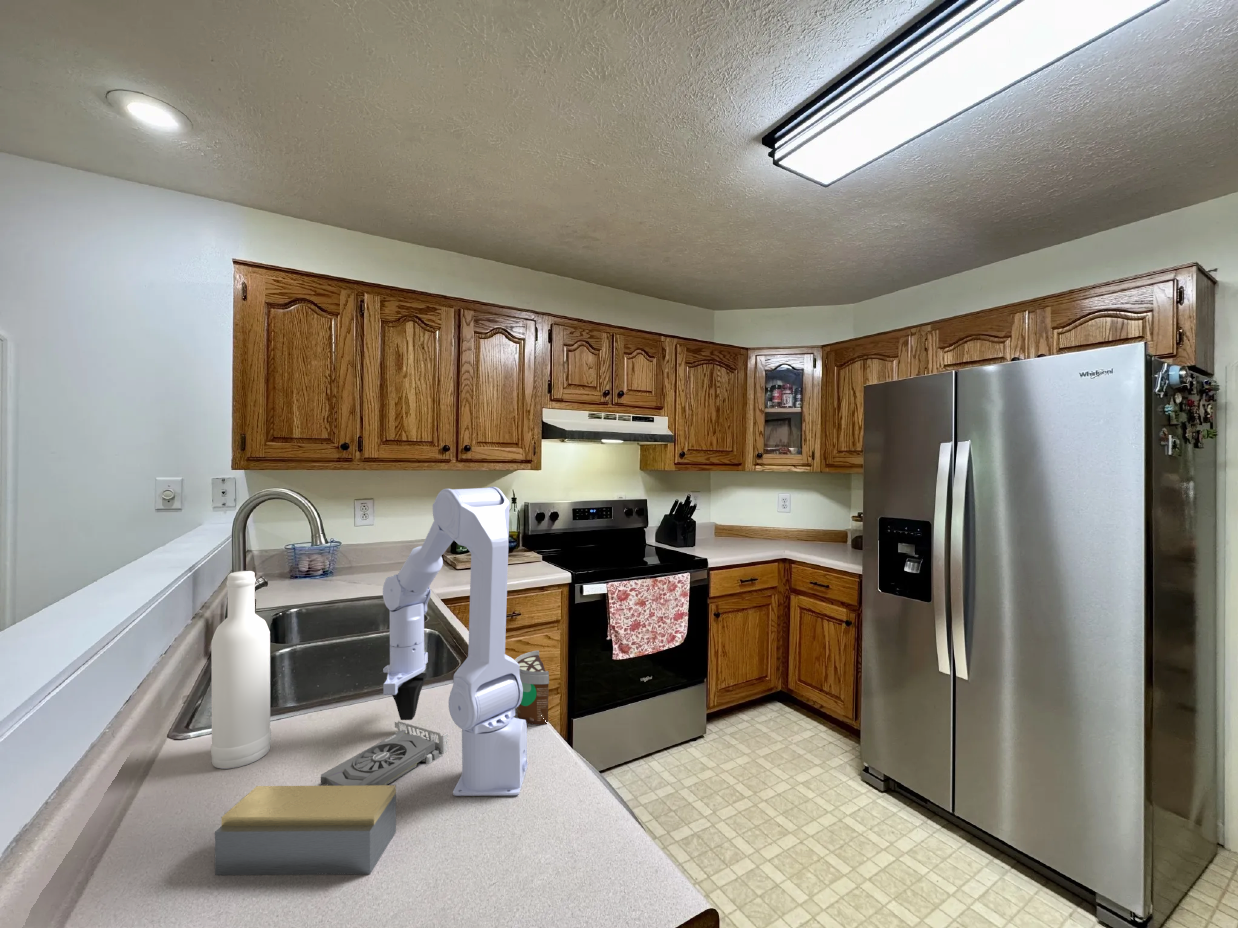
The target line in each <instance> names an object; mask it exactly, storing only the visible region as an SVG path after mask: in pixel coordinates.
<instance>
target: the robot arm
mask: <svg viewBox="0 0 1238 928" xmlns="http://www.w3.org/2000/svg"><path fill="white" fill-rule="evenodd" d="M510 506H511V504H510V501H509V499H508V498H507V496H506V495H505V494H504V493H503V491H502V490H501V489H500V488H499V487H497V486H488V487H478V488H477V487H475V488H473V487H472V488H455V489H454V488H453V489H452V488H443V489H441V490H440V491H439V492H438V493H437V495H436V497H435V499H434V502H433V504H432V517H433V522H432V524H431V527H430V528H429V530H428V533H427V535H426V537H425V539H424V541H423V543H422V545H419V546H417V547H414V548H412V550H410V553H409V555H408V556H407V558H406V559H405V562H403V565H402V566H401V569H400V570H399V571H398V573H397V574H393V575H391V576H387V577H386V578H385V581H384V583H383V586H382V598H383V602H384V605H385V607H386V608H387V609H388V610H389V664H387V665H385V667H384V668H383V670H382V671H383V673H384V674H385V673H387V675H386V680H385V681H384V683H383V696H392V698H393V700H394V703H395V706H396V708H397V712H398V716H399V720H400V721H412V720H413V719H414V718H415V715H416V712H417V708H418V704H419V699H420V694H421V691H422V689H423V686H424V684H425V681H426V680H427V677H428V675H427V673H426V672H425V671H426V666H427V663H429V661H428V660H429V659H428V658H429V653H428V652H427V651H426V652H425V615H426V614H427V612H428V603H429V601H430V598H431V595H432V594H431V593H432V589H431V587H430V586H431V584H432V583H433V582H434V580H435V578H436V577H437V575H438V574H439V572H440V571H441V570H442V567H443V566H444V560H443V556H442V555H444V553H445V552H447V549H448V548H449V547H450V546H451V545H452V543H453V542H456V543H457V545H458V546H462V547H465V548H466V549H467V550H468V551H469V553H470V583H469V584H470V585H469V586H470V587H469V588H470V589H469V614H468V615H469V617H468V618H469V619H468V650H467V651H468V652H467V653H468V654H467V657H466V659H465V660H464V661H463V663H461V665H460V666H459V667H458V668H457V670H456V671H455V673H454V674H453V683H452V688H451V691H450V693H449V695H448V696H449V697H448V710H449V714H450V717H451V719H452V721H453V722H454V724H455V725H456V726H457V727H458V729H461V753H462V754H461V762H462V763H461V775H460V777H459V779H458V781H457V782H456V785H455V787H454V788H453V791H452V795H453V796H461V797H462V796H463V797H464V796H472V797H473V796H474V797H475V796H518V795H519V794H520V791H521V788H522V785H523V782H524V779H525V776H526V772H527V769H528V765H529V763H528V727H527V724H528V723H526V720H524V719H519V718H518V717H515V716H516V709H517V707H518V706H519V705H520V703H521V701H522V696H523V687H522V682H521V680H520V674H519V667H520V666H519V664H518V663H517V662H516V661H515V659H514V658H512V657H511V656H509V655H507V654H506V633H507V631H506V629H507V628H506V627H507V606H508V605H507V599H508V598H507V597H508V572H509V571H508V567H509V537H510Z"/></svg>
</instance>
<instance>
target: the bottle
mask: <svg viewBox="0 0 1238 928" xmlns="http://www.w3.org/2000/svg"><path fill="white" fill-rule="evenodd" d="M255 573H256V572H254V571H253V570H239V571H235V572H231V573H229V574H228V575H227V580H226V583H225V585H226V587H227V617H226V618H225V619H224V620H223V621H222V622H221V623H219V624H218V626H217V627H216V629H215V631H214V634H213V637H212V638H211V639H212V640H211V642H210V643H211V645H210V646H211V648H210V649H211V651H210V652H211V653H210V654H211V744H210V755H211V756H210V757H211V764H212V766H213V767H215V768H217V769H221V770H222V769H223V770H224V769H225V770H229V769H235V768H236V769H237V768H240V767H244V766H247V765H250V764H252V763H255V762H256V761H259V760H261V758H264V757H265V756H266V755H267V754H268V752H270V750H271V739H272V729H271V631H270V629H269V626H268V623H267V622H266V620H265V619H264V618H262V617H261V616H259V615H258V614H257V613H256V606H255V605H256V604H255V603H256V598H255V597H256V591H255V590H256V588H255V587H256V585H255V584H256V581H257V579H256V577H255V575H256V574H255Z"/></svg>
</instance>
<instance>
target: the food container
mask: <svg viewBox="0 0 1238 928" xmlns="http://www.w3.org/2000/svg"><path fill="white" fill-rule="evenodd" d="M514 660H515V661H516V662H517V663H518V664H519V666H520V667H519V674H520V680H521V682H522V687H523V696H522V701H521V703H520V705H519V706H518V707H517V708H516V712H517V714H516V715H517V718H518V719H524V720H526V724H528V725H529V724H530V725H536V726H537V725H539V726H541V725H542V726H543V725H544V726H545V725H548V724H547V723H546V722H548V723H549V687H550V686H549V684H550V675H549V674H550V673H549V671H548V670H546V669H545V665H544V663H543V661H542V660H541V657H540V650H533V651H529V652H526V653H523V654H520V655H519V656H517V657H516V658H515V659H514ZM541 715H542V716H541ZM543 718H544V719H543ZM545 720H546V722H545Z"/></svg>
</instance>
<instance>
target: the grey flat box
mask: <svg viewBox="0 0 1238 928" xmlns="http://www.w3.org/2000/svg"><path fill="white" fill-rule="evenodd" d="M396 787H397V786H396V785H395V784H394V785H391V784H390V785H389V784H388V785H370V786H328V785H256V786H255V787H253V789H252V790H251V791H250V792H248V793H247V794H246V795H245V796H244V797H243V798H241V799H240V800H239V801H238V802H237V803H236V804H235V805H234V806H233V807H231V808H230V809H229V810H228V811H226V813H224V814H223V815H222V816H221V820H220V823H221V826H220V827H218V828H217V829H216V830H215V831H214V876H245V875H246V876H251V875H253V876H256V875H257V876H258V875H259V876H260V875H261V876H263V875H264V876H267V875H268V876H272V875H273V876H275V875H276V876H277V875H279V876H280V875H285V876H287V875H289V876H290V875H294V876H295V875H304V876H306V875H309V876H310V875H371V873H372V872H373V870H374V869H375V867H376V866H377V864H378V862H379V861H380V860H381V859H380V858H381V857H382V855H383V853H385V850H386V849H387V848H388V846H389V844H390V842H391V841H392V839H393V837H394V836H395V834H396V833H397V796H396V795H397V794H396V793H397V788H396Z"/></svg>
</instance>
